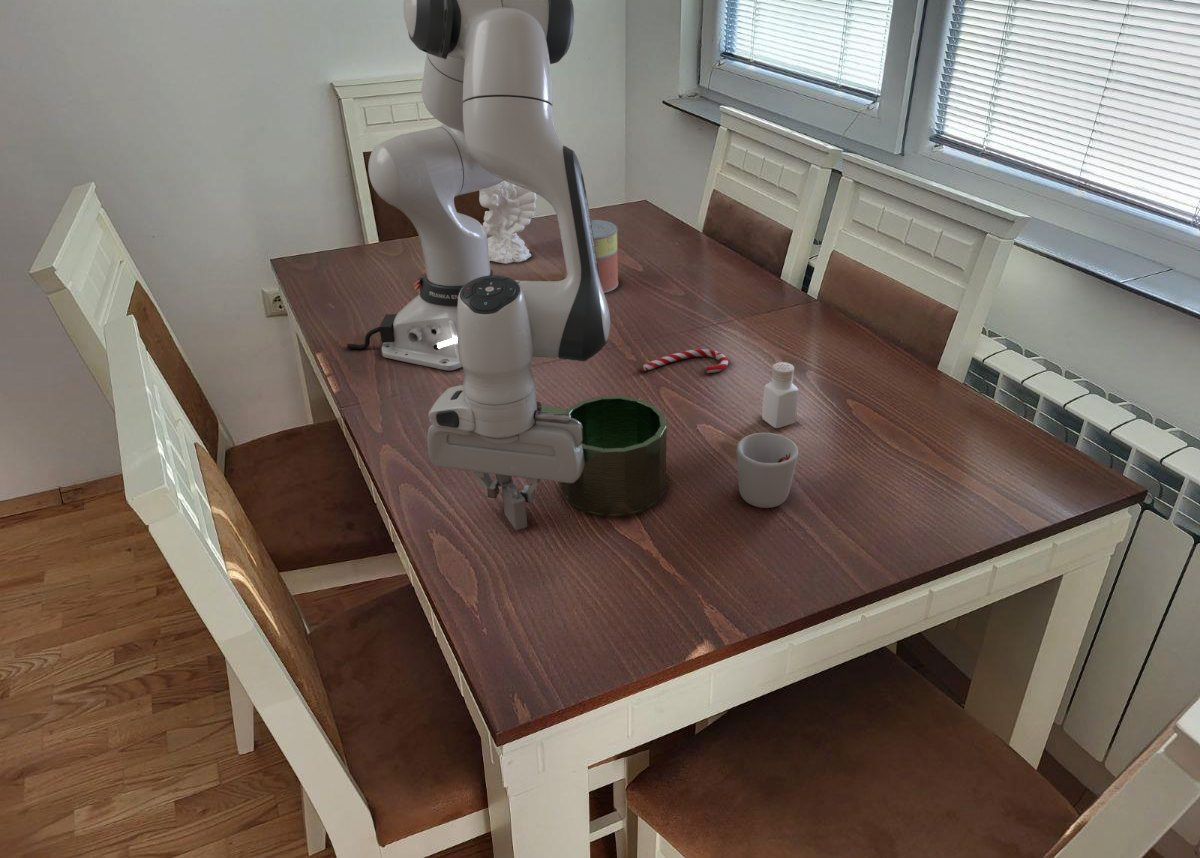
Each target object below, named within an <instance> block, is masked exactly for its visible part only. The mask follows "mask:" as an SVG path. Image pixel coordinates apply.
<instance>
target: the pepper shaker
mask: <svg viewBox="0 0 1200 858" xmlns="http://www.w3.org/2000/svg"><path fill="white" fill-rule="evenodd" d="M771 368H772V369H771V381H769V382H768V383H766V384H764V387H763V395H762V396H763V397H762V409H761V410H762V411H761V418H762V420H763V421H765V423H767V424H768V425H770V426H771V427H773V428H775V429H780V428H783V427H787V426H789V425H792V424H794V423H795V422H796V418H797V410H798V400H799V393H800V391H799V388H798V387H797V386H796V385H795V384H794V383H793V380H794V373H795V365H793V364H792V363H789V362H786V361H785V362H783V361H779V362H775V363H773V365H772V367H771Z"/></svg>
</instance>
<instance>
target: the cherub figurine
mask: <svg viewBox="0 0 1200 858" xmlns="http://www.w3.org/2000/svg"><path fill="white" fill-rule="evenodd" d="M478 193H479V196H478V198H479V199H478V201H479V202H478V203H479V204H480V206H481V207H482V208H485V209H488V210H486V211H484V215H483V223H482V226H483V228H484V229H485V231H486V233H487V240H488V250H489V261H490V262H495V263H498V264H511V263H521V262H524V261H527V260H528V259H529V258H530V257H532V254H531V253H530V249H529V248H528V247H527V246H526V245H525V244H526V243H525V241H524V240H523V239H522V238H521V237H520V236H519V235H518V233H521V232H523V231H524V230H525V228H526V227H527V226H529V225H530V224H531V219H533V217H534V215H535V211H536V209H537V204H536V201H537V194H536V193H534V192H531V191H529V190H527V189H524V188H522V187H519V186H516V185H514V184H511V183H509V182H506V181H503V182H501V183H499V184H496V185H494V186H492V187H490V188H487V189H483V190H479V192H478ZM488 235H489V237H488Z"/></svg>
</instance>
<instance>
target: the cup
mask: <svg viewBox="0 0 1200 858" xmlns="http://www.w3.org/2000/svg"><path fill="white" fill-rule="evenodd" d="M736 445H737V446H736V463H737V464H736V465H737V480H738V491H739V495H740V496H741V498H742V500H743V501H745V502H746V503H747V504H749V505H751V506H753V507H756V508H760V509H772V508H775V507H776V508H777V507H779V506H781V505H782V504H783V503H784V502H785V501H786V500H787V499H788V497H789V495H790V491H791V487H792V482H793V478H794V474H795V470H796V466H797V461H798V457H799V449H798V446H797V445H796V443H795V442H794V441H792V439H790V438H788V437H786V436H784V435H782V434H778V433H773V432H756V433H752V434H748V435H745V436H744V437H742V438H741V439H740V440H739V442H738V443H737V444H736Z"/></svg>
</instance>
